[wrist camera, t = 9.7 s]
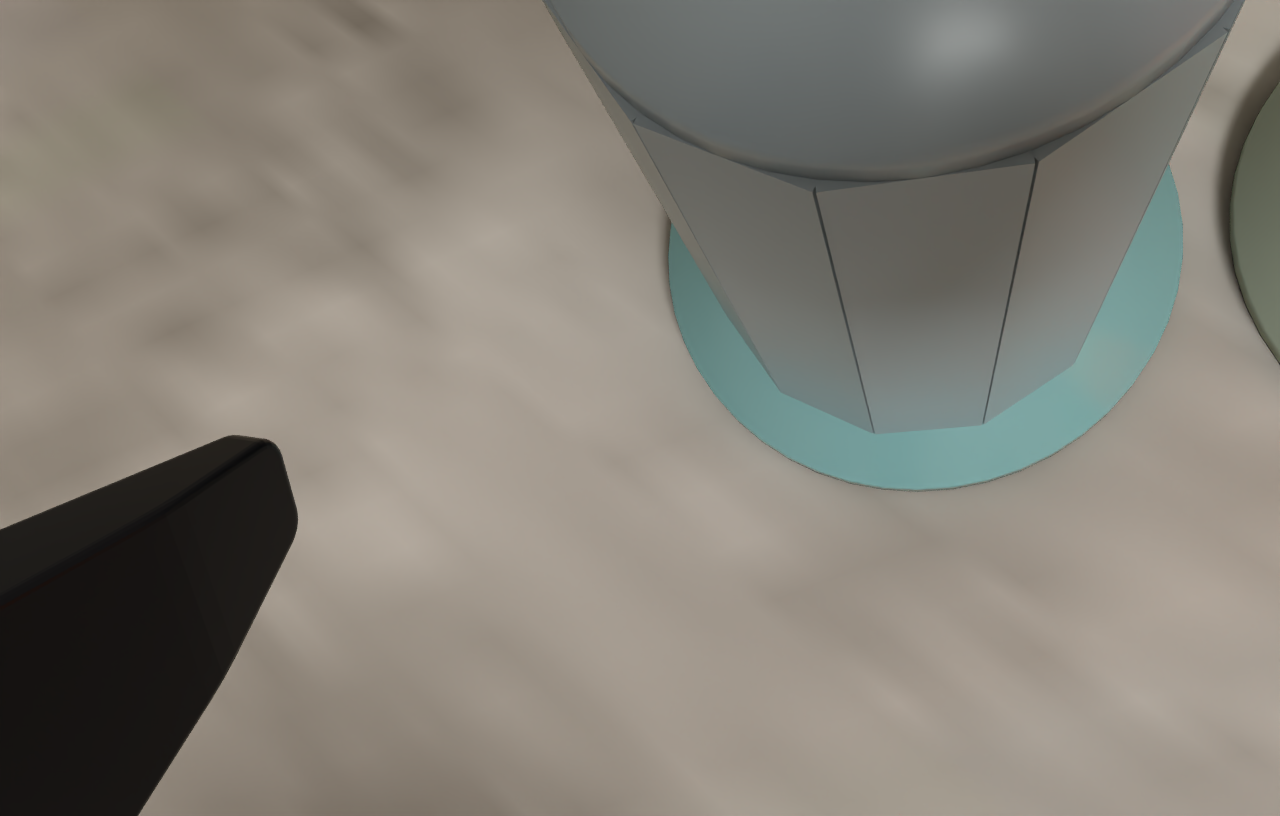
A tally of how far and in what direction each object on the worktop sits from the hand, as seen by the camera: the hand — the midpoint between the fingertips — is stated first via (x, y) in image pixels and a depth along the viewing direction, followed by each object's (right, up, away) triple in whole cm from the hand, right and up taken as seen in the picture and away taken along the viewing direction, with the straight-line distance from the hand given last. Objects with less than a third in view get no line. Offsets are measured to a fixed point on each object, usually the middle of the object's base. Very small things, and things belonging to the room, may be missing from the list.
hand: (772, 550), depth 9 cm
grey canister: (+4, +4, +14) cm, 15 cm away
